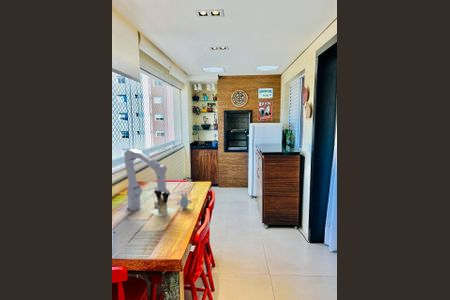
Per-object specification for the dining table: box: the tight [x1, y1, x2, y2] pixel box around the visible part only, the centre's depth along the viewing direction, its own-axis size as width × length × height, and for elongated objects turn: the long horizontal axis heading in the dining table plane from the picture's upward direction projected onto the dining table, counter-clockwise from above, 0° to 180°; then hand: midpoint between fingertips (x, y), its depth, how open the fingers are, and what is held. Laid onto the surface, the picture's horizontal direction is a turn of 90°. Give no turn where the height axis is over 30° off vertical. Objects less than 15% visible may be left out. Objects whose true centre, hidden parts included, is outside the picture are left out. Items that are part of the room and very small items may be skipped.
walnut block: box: [156, 197, 168, 207], centre depth 167 cm, size 4×4×4 cm
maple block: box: [157, 205, 168, 213], centre depth 167 cm, size 4×4×4 cm
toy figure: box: [176, 192, 193, 210], centre depth 171 cm, size 11×6×12 cm, turn 113°
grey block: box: [153, 200, 158, 208], centre depth 178 cm, size 4×4×4 cm
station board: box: [148, 206, 177, 217], centre depth 168 cm, size 14×14×1 cm
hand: (162, 201), depth 167 cm, fingers open, 7 cm apart
